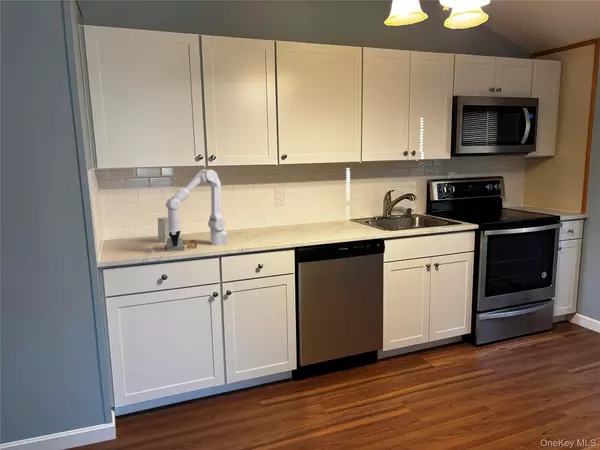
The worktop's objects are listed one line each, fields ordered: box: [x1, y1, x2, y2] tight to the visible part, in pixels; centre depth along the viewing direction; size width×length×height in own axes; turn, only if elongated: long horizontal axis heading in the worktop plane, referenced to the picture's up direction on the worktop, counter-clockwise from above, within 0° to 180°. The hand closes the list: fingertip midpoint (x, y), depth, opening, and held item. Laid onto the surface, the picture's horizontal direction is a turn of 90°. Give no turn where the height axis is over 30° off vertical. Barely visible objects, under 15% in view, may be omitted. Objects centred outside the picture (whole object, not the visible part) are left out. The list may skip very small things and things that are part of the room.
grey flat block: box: [166, 237, 184, 248], centre depth 245 cm, size 2×8×7 cm, turn 102°
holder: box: [166, 245, 186, 253], centre depth 246 cm, size 9×4×3 cm, turn 101°
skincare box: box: [157, 216, 170, 243], centre depth 271 cm, size 8×6×15 cm
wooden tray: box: [164, 239, 198, 251], centre depth 255 cm, size 17×12×4 cm
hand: (175, 245), depth 245 cm, fingers open, 4 cm apart
